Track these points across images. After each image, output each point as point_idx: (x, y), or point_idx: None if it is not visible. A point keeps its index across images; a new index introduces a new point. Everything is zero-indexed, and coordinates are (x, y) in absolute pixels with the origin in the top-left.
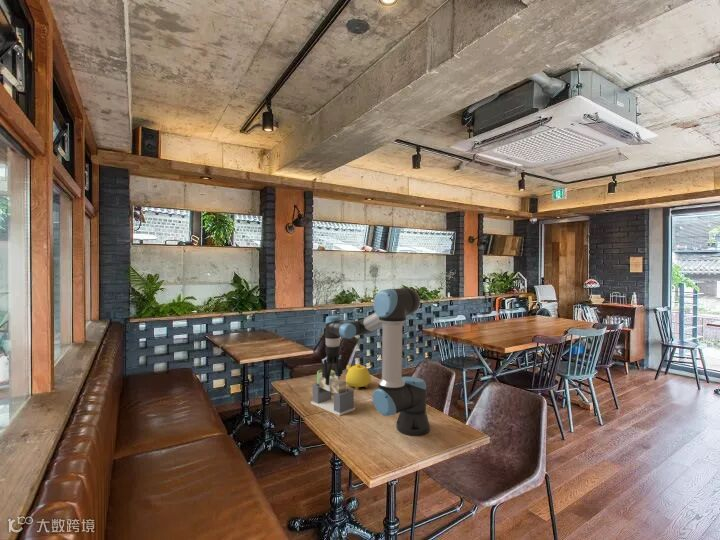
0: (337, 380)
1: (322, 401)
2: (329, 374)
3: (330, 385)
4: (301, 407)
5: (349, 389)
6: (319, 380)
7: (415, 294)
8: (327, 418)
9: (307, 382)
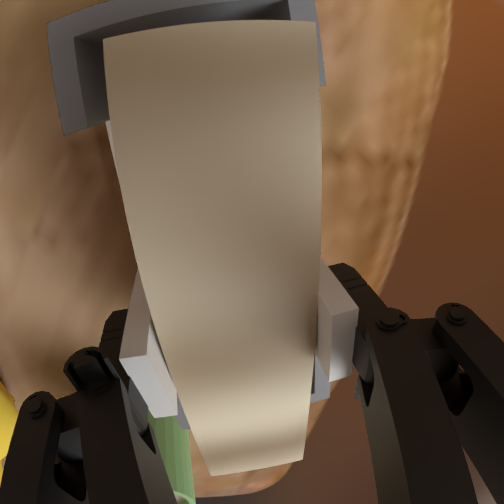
0: (198, 247)
1: None
2: (405, 376)
3: None
4: (368, 281)
5: (62, 86)
6: (187, 459)
7: None
8: (354, 40)
9: None
